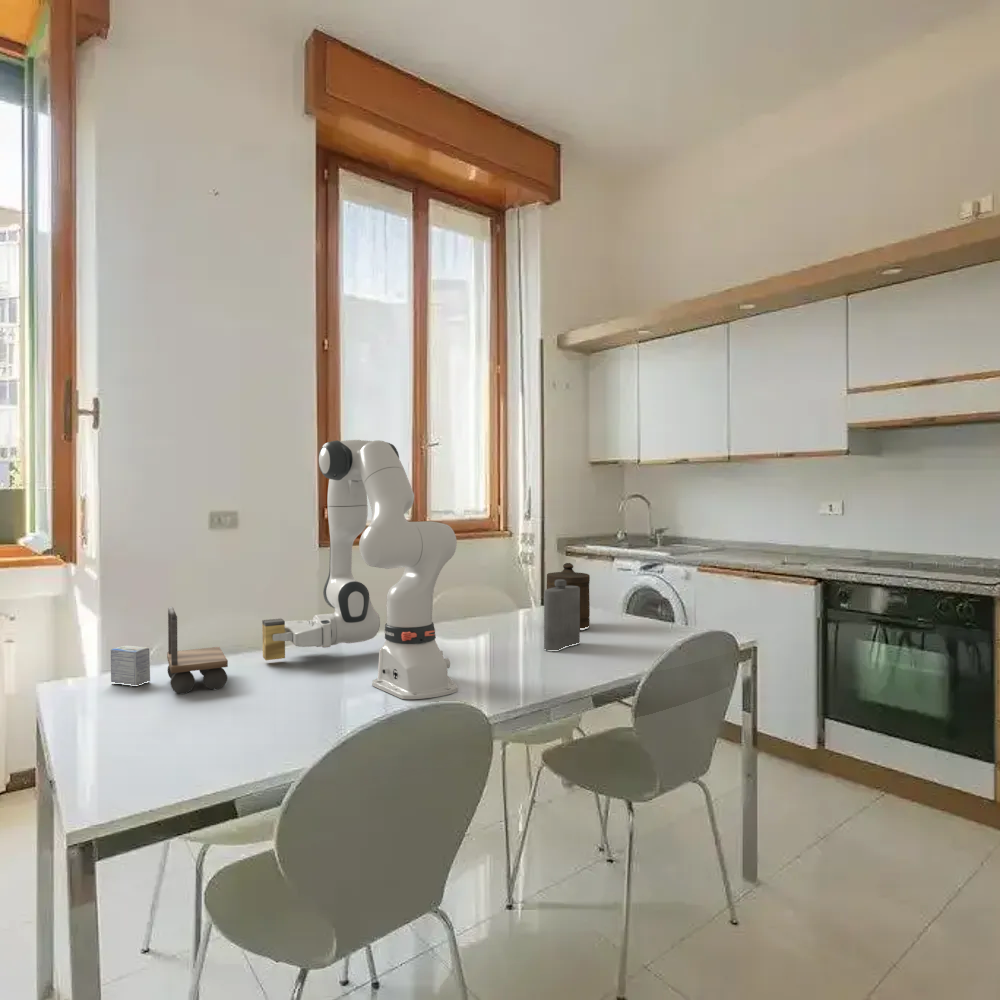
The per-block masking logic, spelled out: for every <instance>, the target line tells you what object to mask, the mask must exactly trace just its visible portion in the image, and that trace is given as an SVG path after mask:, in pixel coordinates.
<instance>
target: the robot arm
mask: <svg viewBox="0 0 1000 1000" xmlns="http://www.w3.org/2000/svg"><path fill="white" fill-rule="evenodd" d="M318 467H319V470H320V472H321V473H322V475H323V476H324V477H325V478H326V479H329V480H328V487H327V505H326V506H327V518H328V528H329V542H330V543H329V573H328V577H327V579H326V582H325V583H324V587H323V599H324V601H325V603H326V604H327V605H328V606H329V607H330V608H332V609H334V612H333V613H332V612H331V613H321V614H315V615H314V616H313V617H312V619H309V620H307V619H306V620H305V619H304V620H302V619H301V620H284V621H285V633H274V634H272V640H273V641H285V642H291V643H292V644H293V645H294V646H295V647H298V648H299V647H302V648H307V647H308V648H309V647H310V648H311V647H313V648H314V647H316V648H320V647H322V648H324V649H325V648H327V649H328V648H330V647H331V646H336V645H339V644H342V643H343V644H356V643H362V642H367V641H370V640H372V639H374V638H375V637H376V636H377V634H378V633H379V631H380V628H381V620H380V619H381V617H380V614H379V613H378V612H377V611H376V609H375V608H374V606H373V604H372V601H371V597H370V591H369V588H367V586H366V585H365V584H364V583H362V582H360V581H358V580H357V579H355V578H354V577H353V572H352V563H353V562H352V561H353V558H352V557H353V545H354V541H355V540H356V539H357V537H358V536H359V535H361V536H360V539H359V543H358V550H359V554H360V556H361V559H362V560H363V562H364V563H365V564H366V565H367V566H369V567H372V568H373V567H374V568H378V569H386V570H388V569H399V568H402V569H403V568H404V571H403V573H402V575H401V578H400V579H398V581H397V582H396V583H395V584H393V585H392V586H390V588H389V589H388V592H387V595H386V623H385V625H384V639H385V642H384V644H383V646H382V647H381V648H380V649H379V652H378V668H377V678H376V679H373V680H372V682H371V686H372V687H375V688H377V689H379V690H381V691H384V692H386V693H388V694H390V695H392V696H395V697H396V698H399V699H402V700H422V699H431V698H438V697H443V696H446V695H451V694H453V693H457V692H459V688H458V685H457V684H456V683H455V682H454V681H453V680H452V678H451V677H450V676H449V675H448V669H450V668H451V660H450V658H444V656H443V655H444V652H443V650H441V649H440V647H439V646H438V644H437V642H436V641H437V640H436V639H437V638H436V637H437V636H436V628H435V623H434V622H433V603H434V600H433V599H434V590H435V587H436V584H437V580H438V577H439V575H440V574H441V571H442V570H443V568H444V566H445V565H446V564H447V563H448V562H449V560H451V559H452V558H453V557H454V555H455V552H456V549H457V542H458V541H457V536H456V533H455V531H454V529H453V528H452V527H451V526H450V525H449V524H446V523H442V522H437V521H433V520H432V521H431V520H429V521H408V520H407V519H406V516H405V514H406V513H408V512H409V511H410V509H411V508H412V506H413V504H414V502H415V492H414V491H413V488H412V486H411V483H410V479H409V478H408V475H407V473H406V470H405V469H404V466H403V464H402V461H401V460H400V456H399V451H398V449H397V447H396V446H395V445H394V444H392V443H390V442H387V441H384V440H373V441H372V440H362V439H349V440H348V439H347V440H331V441H328V442H326V443H324V444H323V445H322V446H321V448H320V450H319V453H318ZM368 502H369V505H370V509H371V521H370V524H369V525H368V526H367V521H368V514H369V513H368V509H369V507H368Z"/></svg>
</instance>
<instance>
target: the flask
mask: <svg viewBox="0 0 1000 1000" xmlns="http://www.w3.org/2000/svg"><path fill="white" fill-rule="evenodd" d="M555 586H556V587H554V588H549V589H547V588H546V589H545V590H543V591H544V592H543V615H544V616H543V650H544V649H546V650H559V649H561V648H563V647H565V646H569V645H572V644H576V643H579V642H580V643H581V641H580V640H581V639H580V638H581V637H580V635H581V634H580V633H581V631H580V587H578V586H566V580H562V579H559V580H555Z"/></svg>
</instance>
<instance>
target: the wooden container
mask: <svg viewBox="0 0 1000 1000" xmlns="http://www.w3.org/2000/svg"><path fill="white" fill-rule="evenodd" d="M562 567H563V570H562V571H557V572H556V571H555V572H549V573H547V574H546V589H549V588H554V587H556V586H555V580H559V579H562V580H566V586H578V587H580V628H585V627H588V626H589V627H590V613H591V611H590V610H591V608H590V606H591V605H590V582H591V581H590V579H591V577H590V574H589V573H584V572H576V571H574V565H573V564H572V563H571V562H565V563H564V564H562Z"/></svg>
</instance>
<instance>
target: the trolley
mask: <svg viewBox="0 0 1000 1000" xmlns="http://www.w3.org/2000/svg"><path fill="white" fill-rule="evenodd" d="M167 626H168V627H167V632H168V633H167V635H168V637H167V640H168V644H167V645H168V647H167V648H168V650H167V652H166V655H167V656H166V659H167V663H168V666H167V674H168V677H169V678H170V687H171V689H172V691H173V692H175V693H176V694H179V693H184V694H188V692H190V691H192V689H193V688H194V687H195V684H196V680H195V676H194V674H193V672H194V671H199V673H200V674H201V675H202V677H203V683H204V685H205V686H206V687H207V688H208V689H210V690H213V689H216V690H219V689H222V687H224V686H225V685H226V683H227V681H228V674H227V672H226V671H225V669H224V668H228V667H229V666H228V664H229V663H228V659H227V657H226V655H225V653H224V652H223V650H222V649H221V647H220V646H215V647H204V648H203V647H202V648H195V649H184V650H178V616H177V613H176V611H175V608H174V607H173V606H169V607H168V608H167Z"/></svg>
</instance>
